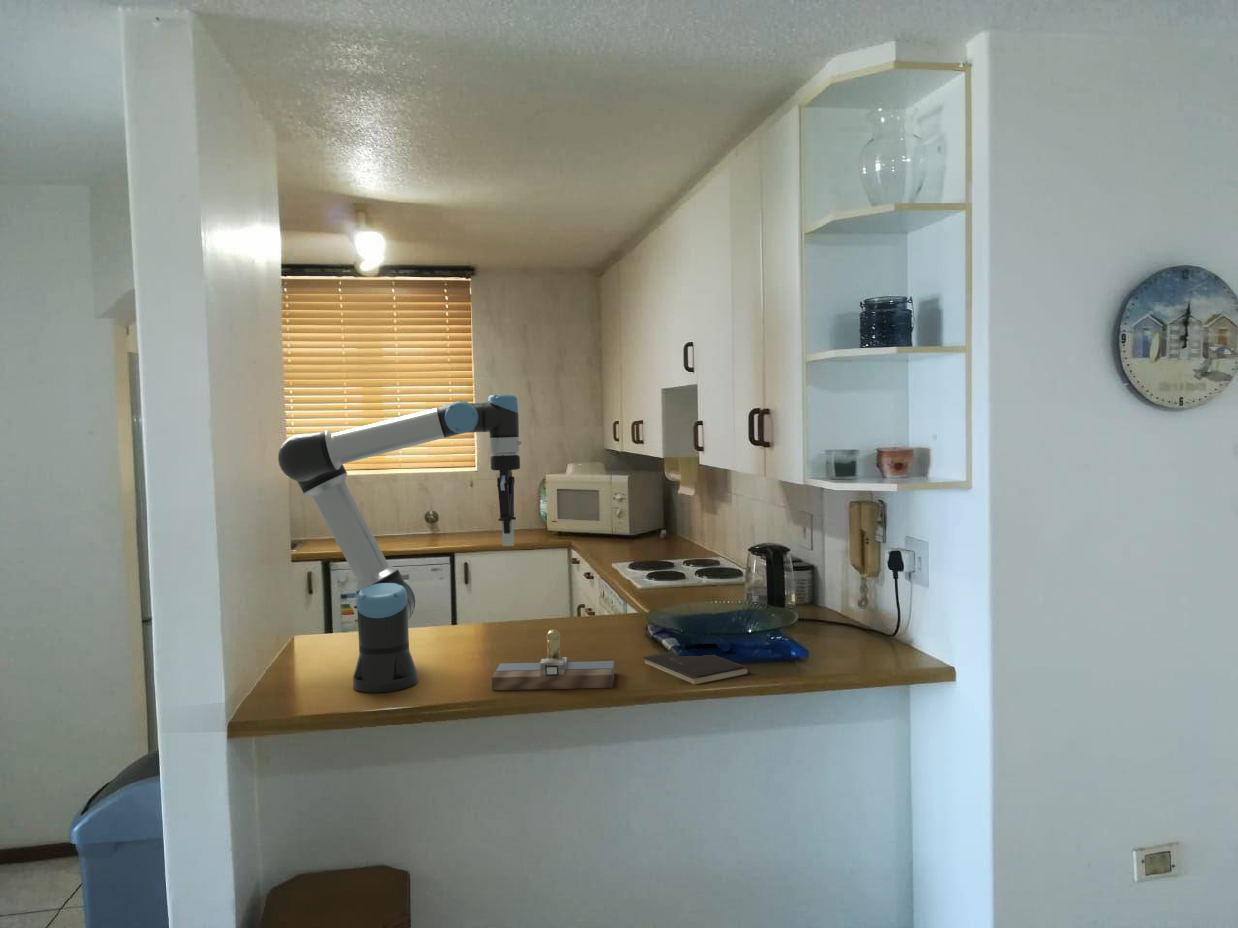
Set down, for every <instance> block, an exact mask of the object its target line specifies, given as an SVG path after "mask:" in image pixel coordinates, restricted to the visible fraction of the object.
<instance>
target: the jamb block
mask: <svg viewBox="0 0 1238 928" xmlns="http://www.w3.org/2000/svg"><path fill="white" fill-rule="evenodd" d="M539 663H540V670H539V671H496V670H495V672H494V673H493V674H492V676H491V690H492V691H511V690H512V691H513V690H515V691H516V690H518V691H519V690H562V689H565V690H567V689H608V688H613V685H614V680H613V669H584V670H565V658H563V657H560V659H546V658H541V659H540V662H539ZM547 665H558V673H557V674H547Z"/></svg>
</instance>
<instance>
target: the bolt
mask: <svg viewBox="0 0 1238 928" xmlns="http://www.w3.org/2000/svg"><path fill="white" fill-rule="evenodd" d="M560 639H561V634H560V632H559V631H558V630H556V629H555V628H554V629H550V630H548V631H547V633H546V643H547V644H546V646H547V647H546V648H547V649H546V650H547V658H548V659H560V658H561V643H560V642H561V641H560ZM557 673H558V665H547V674H557Z"/></svg>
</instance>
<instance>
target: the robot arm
mask: <svg viewBox="0 0 1238 928" xmlns="http://www.w3.org/2000/svg"><path fill="white" fill-rule="evenodd" d="M519 422H520V421H519V406H518V398H517V397H516V395H514V394H491V395H489V396H488V399H487V402H480V403H479V402H477V403H475V402H474V403H472V402H468V401H463V400H459V401H454V402H452V403H449V404H448V403H447V404H446V403H445V404H443V405H442V406H438V407H434V408H431V409H426V410H423V411H419V412H414V413H410V414H406V415H401V416H398V417H393V418H390V419H386V420H382V421H378V422H373V423H370V424H366V425H362V426H358V427H354V428H350V429H345V430H342V431H339V432H337V431H336V432H331V431H330V430H324V431H321V432H310V433H309V432H308V433H299V434H295V435H292V436H290V437H289V438H287V439H286V440H285V441H284V442H283V443H282V445H281V446H280V448H279V451H278V458H277V460H278V465H279V468H280V469H281V471H282V472H283V473H284V475H286V477H288V478H289V479H291V480H294V481H297V484H298V485H299V488H300V489H301V491H302V493H303V495H305V496H308V497H310V498H312V499H313V500H314V502H315V503H316V506H317V508H318V509H319V512H320V513H321V515H322V517H323V519H324V521H325V522H326V524H327V527H328V528H329V530H330V532H331V534H332V536H333V538H334V540H335V541H336V543H337V545H338V548H340V551H341V553H342V555H343V556H344V558H345V561H346V562H347V564H348V567H349V568H350V570H351V572H352V573H353V575H354V577H355V579H356V582H357V583H356V585H355V589H354V590H355V592H356V594H357V595H356V602H355V603H356V610H357V626H358V627H357V628H358V629H357V632H358V634H357V635H358V652H359V653H358V658H357V661H356V665H355V669H354V672H353V676H352V687H353V689H354V690H355V691H358V692H363V693H368V694H369V693H374V694H375V693H376V694H377V693H379V694H380V693H389V692H395V691H400V690H401V691H402V690H405V689H407V688H410V687H412V686H414V685H416V684H417V683H418V681H419V679H418V669H417V667H416V664H415V662H414V660H413V656H412V654H411V651H410V640H409V639H410V635H409V620H410V618H411V617H412V615H413V614H414V611H415V608H416V597H415V592H414V591H413V589H412V587H411V586H410V585H409V584H408V583H407V582H406V581H405V580H404V579H403V577H402V574H401V573H400V570H399V569H398V567H395V566H392V565H389V563H388V561H387V560H386V557H385V556H384V553H383V552H382V549H381V548H380V546H379V544H378V542H377V539H376V538H375V537H374V535H373V532H372V531H371V529H370V527H369V525H368V523H367V521H366V519H365V517H364V515H363V514H362V511H361V509H360V508H359V506H358V505H357V503H356V499H355V498H354V497H353V495H352V493H351V491H350V489H349V487H348V485H347V483H346V479H347V478H348V477H347V476H348V472H347V470H346V469H345V466H344V464H348V463H352V462H355V461H359V460H362V459H363V460H364V459H367V458H371V457H375V456H378V455H382V454H386V453H391V452H394V451H400V450H402V449H406V448H410V447H414V446H418V445H422V444H425V443H430V442H434V441H436V440H440V439H445V438H449V437H455V436H458V435H463V434H466V433H467V434H469V433H473V434H474V433H489V452H490V454H492V455H491V457H490V469H491V471H498V472H499V473H498V474H499V475H498V476H499V477H497V478H496V482H497V484H496V486H497V493H498V504H499V518H498V522H501V533H502V534H501V535H502V538H501V539H502V547H513V546H515V540H514V535H515V533H514V520H516V519H517V517H516V516H515V476H513V471H515V470H520V468H521V458H520V455H518V453H520V446H521V445H522V441H520V439H519V437H520V435H519V434H520V429H519V427H520V426H519V424H520V423H519Z"/></svg>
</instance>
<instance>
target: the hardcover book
mask: <svg viewBox="0 0 1238 928" xmlns="http://www.w3.org/2000/svg"><path fill="white" fill-rule="evenodd" d="M673 651H674V650H673ZM673 651H668V652H662V653H661V652H660V653H656V654H651V655H646V656H645V655H644V656H642V659H644V663H645V664H646V665H648V666H651V667H652V668H656V669H658V670H660V671H662V672H665V673H667V674H669V675H671V676H674V677H676V678H679V679H680V680H683V681H686V682H688V683H690V684H693V685H698V684H704V683H708V682H713V681H718V680H724V679H728V678H732V677H738V676H742V675H749V674H750V673H749V672H750V670H749V667H748V666H746V665H743V664H741V663H737V662H734V661H732V660H729V659H726V658H724V657H720V656H717V655H715V654H713V655H703V656H678V655H676V654H675V653H674V652H673Z"/></svg>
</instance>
